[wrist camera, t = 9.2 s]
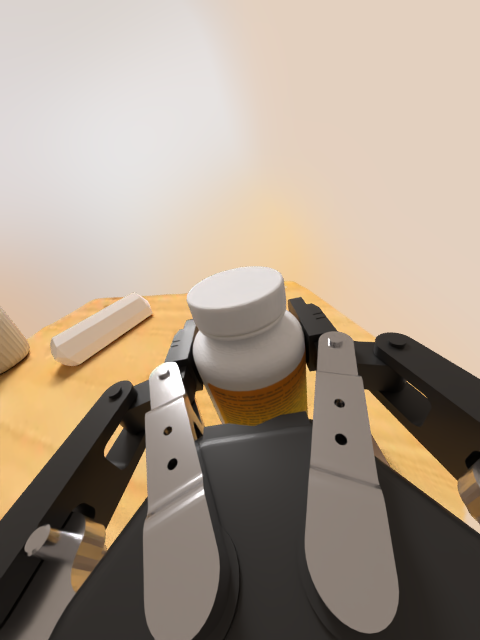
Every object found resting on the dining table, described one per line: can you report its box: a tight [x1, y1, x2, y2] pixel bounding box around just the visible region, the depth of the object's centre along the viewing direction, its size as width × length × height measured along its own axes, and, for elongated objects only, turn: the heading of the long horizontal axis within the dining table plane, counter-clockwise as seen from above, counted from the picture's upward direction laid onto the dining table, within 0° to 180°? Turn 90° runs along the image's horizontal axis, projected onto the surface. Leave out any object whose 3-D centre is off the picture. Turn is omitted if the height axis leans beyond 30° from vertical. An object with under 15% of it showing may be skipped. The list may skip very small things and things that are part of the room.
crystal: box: [50, 292, 152, 366], centre depth 50 cm, size 7×7×24 cm
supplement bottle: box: [187, 267, 308, 426], centre depth 11 cm, size 5×5×10 cm
